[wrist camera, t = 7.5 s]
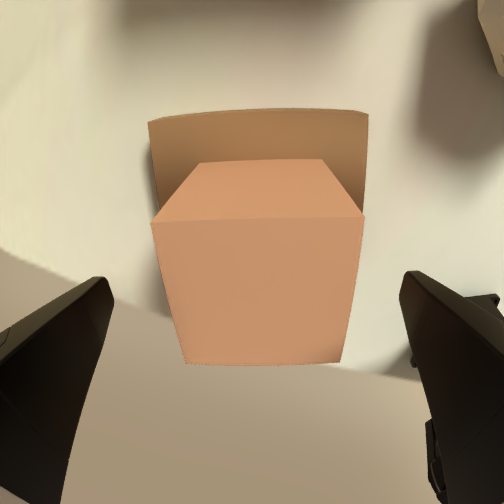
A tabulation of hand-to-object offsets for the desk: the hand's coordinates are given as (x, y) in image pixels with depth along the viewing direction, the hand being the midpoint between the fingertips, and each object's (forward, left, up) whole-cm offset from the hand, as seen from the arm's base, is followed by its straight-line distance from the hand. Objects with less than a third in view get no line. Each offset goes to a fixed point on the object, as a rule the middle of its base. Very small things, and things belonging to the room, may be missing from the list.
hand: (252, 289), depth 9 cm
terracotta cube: (0, 0, -5) cm, 5 cm away
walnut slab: (0, 0, -7) cm, 7 cm away
